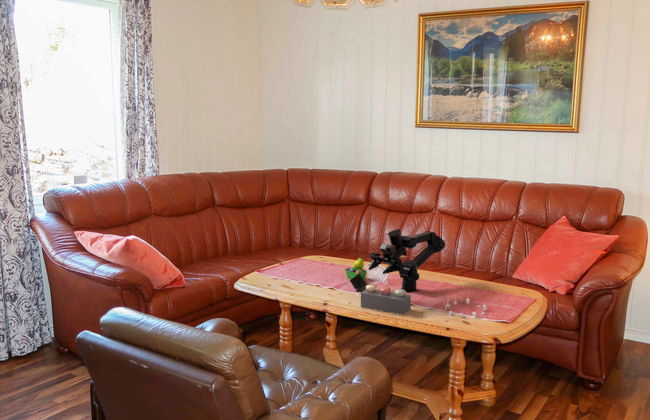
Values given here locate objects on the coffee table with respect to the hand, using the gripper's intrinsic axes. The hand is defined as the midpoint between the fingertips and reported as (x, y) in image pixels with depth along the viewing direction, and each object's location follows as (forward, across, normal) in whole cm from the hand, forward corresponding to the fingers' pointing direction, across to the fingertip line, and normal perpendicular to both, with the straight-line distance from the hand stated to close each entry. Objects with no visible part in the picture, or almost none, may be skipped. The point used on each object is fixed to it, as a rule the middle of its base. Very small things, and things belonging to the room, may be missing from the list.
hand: (375, 271), depth 278 cm
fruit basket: (-12, -33, +22) cm, 41 cm away
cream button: (+9, +1, +7) cm, 11 cm away
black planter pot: (-3, -19, +19) cm, 27 cm away
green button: (+4, +16, +9) cm, 19 cm away
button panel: (+9, +9, +13) cm, 18 cm away
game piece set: (-13, +37, +23) cm, 45 cm away
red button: (+6, +9, +8) cm, 14 cm away
